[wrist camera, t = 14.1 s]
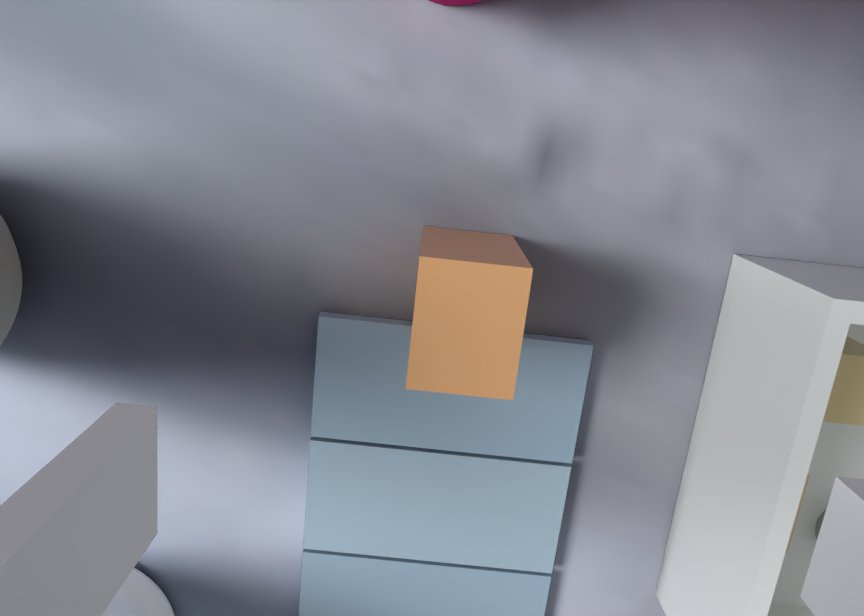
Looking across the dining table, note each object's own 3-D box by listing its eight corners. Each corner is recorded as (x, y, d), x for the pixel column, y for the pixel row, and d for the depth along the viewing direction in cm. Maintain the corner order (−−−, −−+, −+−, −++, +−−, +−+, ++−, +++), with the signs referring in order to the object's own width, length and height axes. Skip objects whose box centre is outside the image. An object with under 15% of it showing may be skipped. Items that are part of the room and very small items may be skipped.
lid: (327, 215, 30) (296, 242, 24) (606, 246, 31) (654, 282, 24) (299, 639, 36) (267, 757, 30) (531, 661, 37) (552, 783, 30)
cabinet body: (733, 254, 31) (833, 298, 23) (994, 282, 31) (1180, 336, 23) (655, 592, 35) (716, 724, 28) (881, 615, 36) (1005, 752, 28)
